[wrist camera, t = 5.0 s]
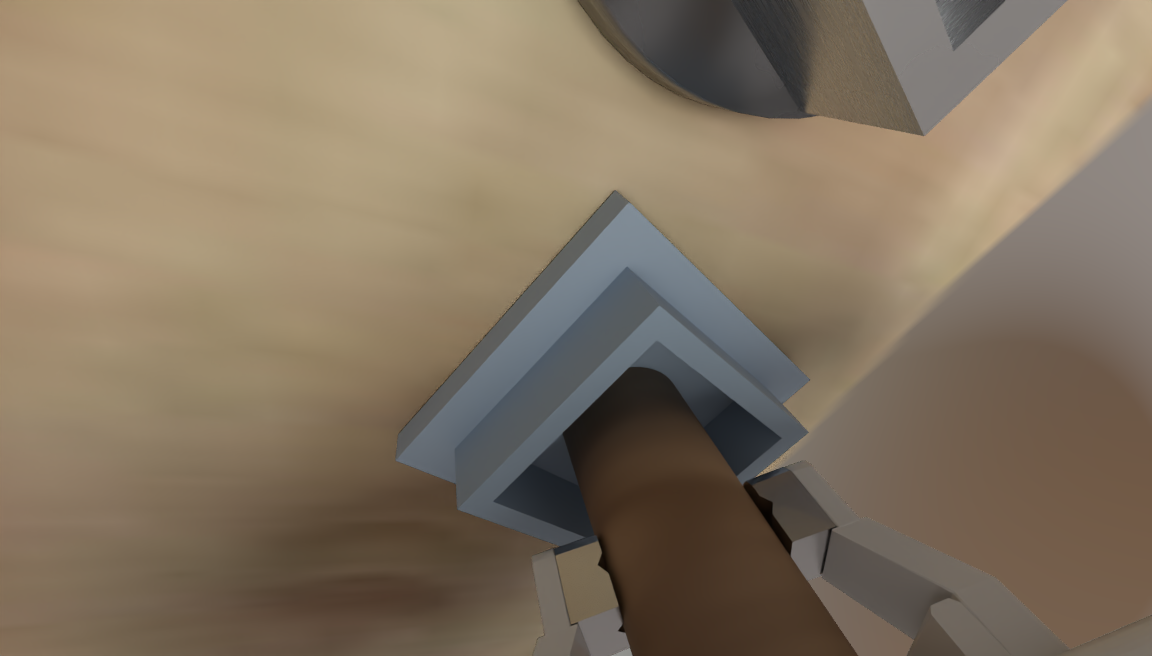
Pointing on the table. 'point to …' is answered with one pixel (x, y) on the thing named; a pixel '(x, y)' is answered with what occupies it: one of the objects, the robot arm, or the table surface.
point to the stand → (598, 376)
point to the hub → (822, 53)
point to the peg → (687, 534)
